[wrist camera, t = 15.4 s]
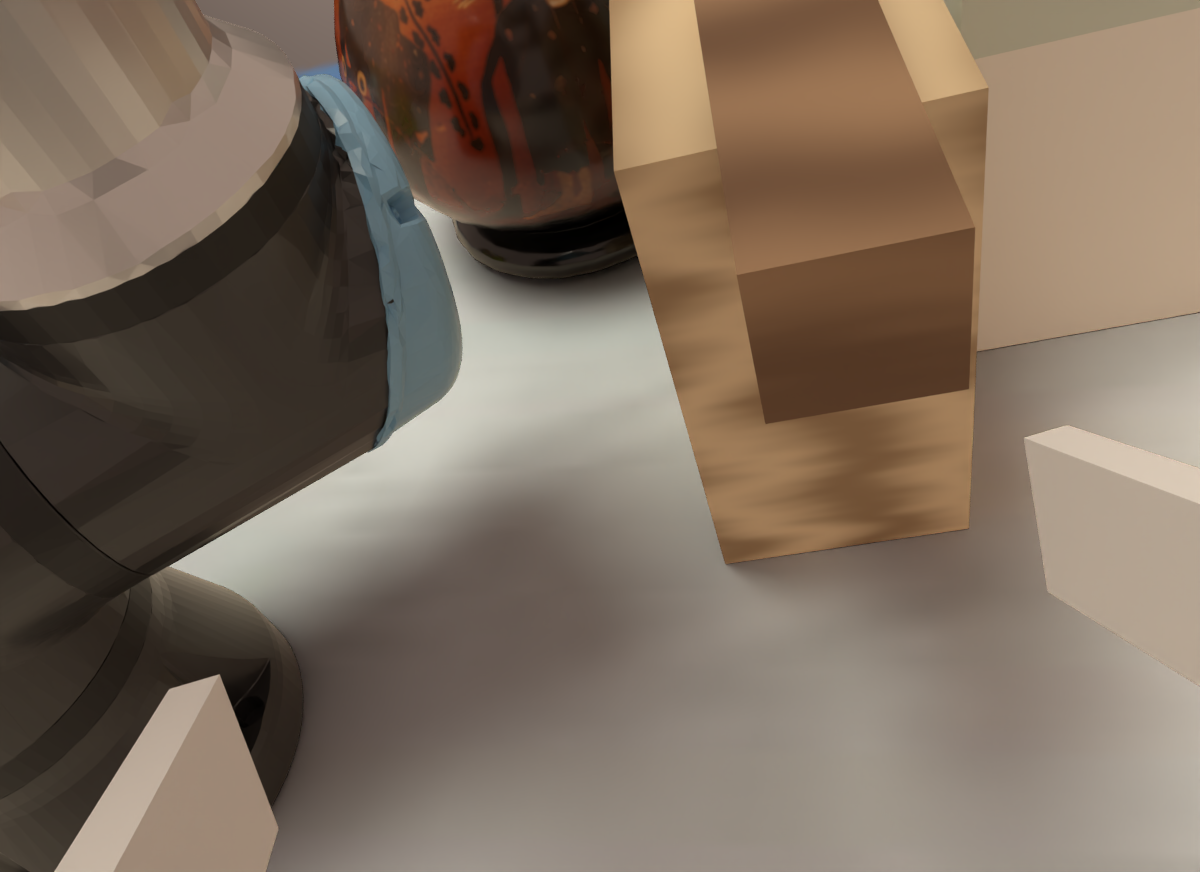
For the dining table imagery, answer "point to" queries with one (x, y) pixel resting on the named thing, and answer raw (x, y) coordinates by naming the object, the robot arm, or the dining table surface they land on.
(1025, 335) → the beige tall block
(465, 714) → the dining table surface
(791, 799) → the dining table surface
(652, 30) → the low block
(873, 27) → the beam
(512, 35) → the amphora vase
